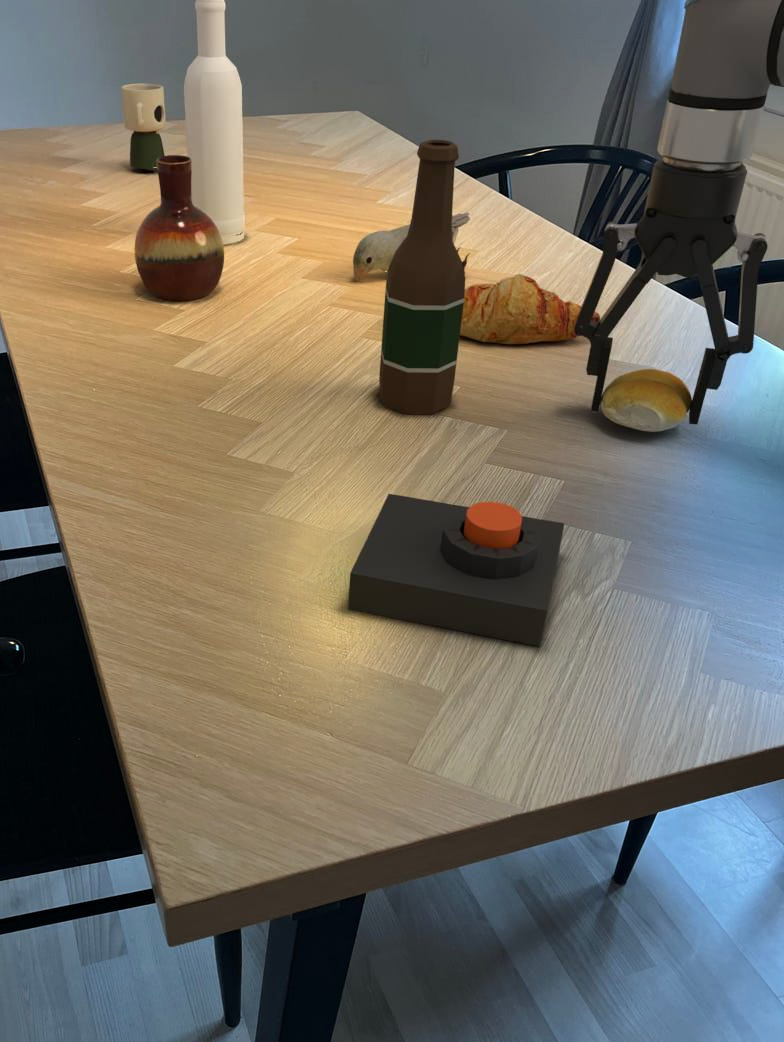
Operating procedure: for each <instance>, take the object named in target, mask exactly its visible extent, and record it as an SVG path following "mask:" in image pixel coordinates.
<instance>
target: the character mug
mask: <svg viewBox="0 0 784 1042" xmlns="http://www.w3.org/2000/svg"><path fill="white" fill-rule="evenodd" d="M164 91H165V89H164V86H163V85H160V84H155V83H154V84H153V83H129V84H125V85H121V99H122V110H123V124H124V128H125V129H127V130H129V131H131V132H132V133H131V136H130V144H129V145H130V146H129V168H132V169H138V170H139V169H140V170H141V169H142V170H144V171H145V172H146V173H148V172H149V171H158V169H157V168H153V167H157V158H159V157H162V156H166V155H165V150H164V146H163V140H162V137H161V135H160V133H159V132H160V131H161V130H164V129H165V128H166V107H165V92H164Z"/></svg>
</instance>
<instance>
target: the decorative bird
mask: <svg viewBox="0 0 784 1042" xmlns="http://www.w3.org/2000/svg"><path fill="white" fill-rule="evenodd" d="M469 215H470V212H464V213H457V214H455V215H453V214H452V238H453V243H454V244H455V243H456V240H457V238H458V234H459V228H461V227H463V226H465V225H466V224H468V222H469V221H471V218H470V216H469ZM409 227H410V224H406V225H403V226H399V227H396V228H393V229H391V230H377V231H374V232H371V233H369V234H367V235H365V236H364V237H363V238H361V240H360V241H359V242H358V244H357V246H356V248H355V251H354V253H353V257H352V258H353V259H352V265H353V277H354V280H355V282H357V281H359V280H360V279H362V278H363V277H365V276H367V274H368V273H371V272H372V271H374V270H381V271H382V272H384V273H386V274H388V268H389V265H390V263H391V261H392V258H393V256H394V254H395V251H396V250H397V249H398V247H399V246H400V245H401V243H402V242H403V241H404V239H405V238H406V237H407V234H408V231H409ZM461 248H462V246H459V247H458V248H457V249H456V250H457V252H458V253H459V250H460V249H461ZM470 254H471V252H469V253H468V254H466V256H464V257H465V258H464V259H463V261H462V265H463V270H464V274H466V271H465V269H466V266H467V264H468V257H469V255H470ZM385 271H387V272H385Z"/></svg>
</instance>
